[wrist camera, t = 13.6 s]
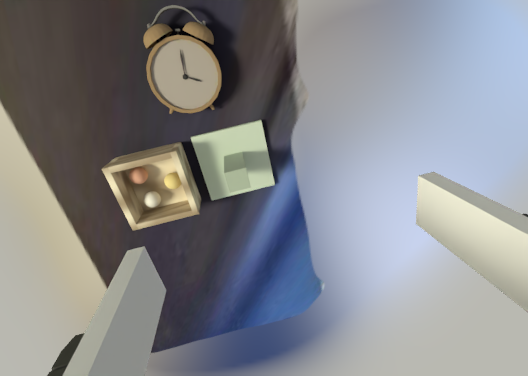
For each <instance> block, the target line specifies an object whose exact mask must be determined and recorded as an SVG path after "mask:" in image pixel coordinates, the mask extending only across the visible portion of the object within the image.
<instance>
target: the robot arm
mask: <svg viewBox="0 0 528 376" xmlns="http://www.w3.org/2000/svg"><path fill="white" fill-rule="evenodd" d="M417 195H418V196H417V216H416V224H417V225H418V226H420V227H421V228H422V229H423V230H425V231H426V232H427V233H428V234H430V235H431V236H432V237H433V238H435V239H436V240H437V241H439V242H440V243H441V244H442V245H443V246H445V247H446V248H447V249H449V250H450V251H451V252H452V253H454V254H455V255H456V256H457V257H459V258H460V259H461V260H462V261H464V262H465V263H466V264H467V265H469V266H470V267H471V268H472V269H474V270H475V271H476V272H478V273H479V274H480V275H481V276H483V277H484V278H485V279H486V280H488V281H489V282H490V283H491V284H493V285H494V286H495V287H496V288H498V289H499V290H500V291H501V292H503V293H504V294H505V295H507V296H508V297H509V298H510V299H512V300H513V301H514V302H515V303H517V304H518V305H519V306H521V307H522V308H523V309H524V310H526V311H527V312H528V215H527V214H520V213H518V212H516V211H514V210H512V209H510V208H508V207H505V206H503V205H501V204H499V203H497V202H495V201H493V200H491V199H489V198H487V197H485V196H483V195H480V194H478V193H476V192H474V191H472V190H470V189H468V188H466V187H464V186H462V185H460V184H458V183H455V182H453V181H451V180H450V179H447V178H445V177H443V176H441V175H439V174H437V173H435V172H431V173H427V174H423V175H419V176H418V194H417ZM165 293H166V289H165V287H164V285H163V283H162V281H161V279H160V277H159V275H158V273H157V271H156V269H155V267H154V265H153V263H152V261H151V259H150V257H149V255H148V253H147V251H146V249H145V247H140V248H136V249H132V250H128V251H127V253H126V254H125V256H124V258H123V260H122V262H121V264H120V266H119V268H118V270H117V272H116V274H115V276H114V278H113V279H112V281H111V283H110V285H109V287H108V289H107V291H106V293H105V295H104V297H103V299H102V301H101V303H100V305H99V306H98V309H97V310H96V312H95V314H94V316H93V318H92V320H91V322H90V324H89V326H88V328H87V330H86V331H85V333H84V334H79V335H76V336H75V337H74V338H73V339H72V340H71V341H70V342H69V344H68V345H67V346H66V347H65V348H64V349H63V350H62V351H61V353H60V355H59V357H58V358H57V360H56V362H55V363H54V365H53V367H52V371H51V372H49V374H48V376H145V372H146V369H147V365H148V361H149V357H150V353H151V349H152V345H153V341H154V337H155V333H156V329H157V325H158V321H159V317H160V313H161V309H162V305H163V301H164V297H165Z"/></svg>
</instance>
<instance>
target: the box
mask: <svg viewBox="0 0 528 376" xmlns="http://www.w3.org/2000/svg"><path fill="white" fill-rule="evenodd" d="M135 167H141V168H143V169H145V170H146V171H147V173H148V178H147V180H146V181H145V182H144V183H142V184H135V183H133V182H132V181H131V180H130V178H129V173H130V171H131V170H132V169H133V168H135ZM102 171H103V173H104V175H105V177H106V179H107V181H108V183H109V184H110V186H111V188H112V190H113V192H114V194H115V196H116V198H117V200H118V202H119V204H120V206H121V208H122V210H123V212H124V214H125V216H126V218H127V220H128V222H129V224H130V226H131V228H132V230H137V229H141V228H145V227H149V226H153V225H157V224H161V223H165V222H169V221H173V220H176V219H180V218H184V217H188V216H192V215H196V214H199V211H200V204H201V197H200V194H199V191H198V188H197V185H196V183H195V180H194V177H193V174H192V171H191V168H190V165H189V163H188V160H187V157H186V154H185V151H184V148H183V146H182V143H181V142H178V143H174V144H170V145H166V146H162V147H157V148H153V149H149V150H145V151H141V152H137V153H133V154H128V155H124V156H120V157H116V158H114V159H113V160H112V161H111V162H109V163H108V164H107V165H106V166H105V167H103V168H102ZM169 173H177V174H178V175H179V178H180V181H181V185H180V186H179V187H178V188H176V189H170V188H168V187H167V186H166V185H165V183H164V179H165V177H166V175H167V174H169ZM150 191H154V192H157V193H158V194H159V195H160V197H161V202H160V204H159V205H158V206H156V207H148V206H146V205H145V204H144V201H143V198H144V195H145V194H146V193H148V192H150Z"/></svg>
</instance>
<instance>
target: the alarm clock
mask: <svg viewBox="0 0 528 376" xmlns="http://www.w3.org/2000/svg"><path fill="white" fill-rule="evenodd" d="M173 8H177V9H182V10H185V11H187V12H188V13H190V14H191V15H192V16H193V17H194V18H195V19H196V17H195V16H194V15H193V14H192V13H191V12H190V11H189V10H187V9H186V8H184V7H181V6H175V5H171V6H167V7H165V8H162V9H161V10H160V11H159V12H158V14H157V15H156V17H155V19H154V21H153V23H152V24H149V23H148V24H147V27H148V30H147V31H146V33H145V35H144V44H145V46H146V48H147V49H149V48H151V47H153V46H154V48H153V49H152V51H151V53H150V54H149V57H148V62H147V66H146V69H147V79H148V82H149V84H150V87H151V89H152V91H153V93H154V94H155V95H156V97H157V98H158V99H159V100H160V102H162V103H163V104H165V105H166V106H167V107H169V108H170V114H172V113H173V111H174V110H175V111H178V112H181V113H195V112H199V111H202V110H204V109H205V108H207V107H208V106H209V107H210V108H211V109H212V110H214V109H215V108H214V106H213V105H212V103H213V101H214V100H215V99H216V98H217V96H218V93H219V90H220V88H221V69H220V66H219V62H218V60H217V58H216V56H215V55H214V53H213V51H212V50H211V49H210V48H209V47H208V46H207V45H205V44H204V43H203V42H202V41H200V40H198V38H200V39H202V40H204V41H206V42H208V43H210V44H213V43H214V37H213V34H212V32H211V31H210V30H209V29H208V28H207V27H206V22H205V21H202V23H201V22H200V21H198V20H197V19H196V20H197V22H199V23H197V22H189V23H187V24H186V25H185V26H184V28H183V31H185V32H187V33H189V34H191V35H193V36H195V37H196V39H195V38H193V37H190V36H183V35H179V33H178V35H174V36H170V37H168V36H169V35H170V34H171V33H172V32H173V30H172V29H171V28H170V27H169V26H168V25H166V24H156V25H154V24H155V23H156V22H157V20H158V18H159V16H160V15H161V14H162V13H163V12H164V11H166V10H169V9H173ZM200 23H201V24H200ZM153 25H154V26H153ZM175 31H176V32H177V31H180V29H175ZM163 35H166V36H167V37H166V38H164V39H163V40H161V39H160V37H162V36H163ZM157 39H158V40H159V43H157V42H156V40H157Z"/></svg>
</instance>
